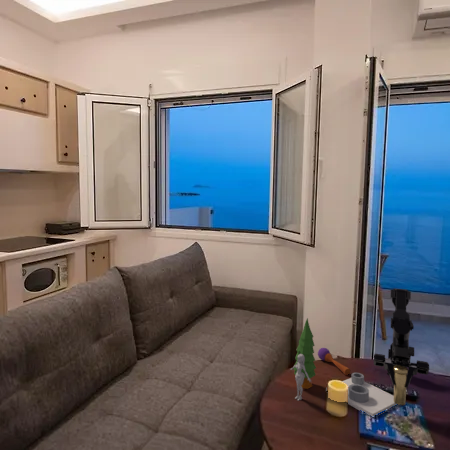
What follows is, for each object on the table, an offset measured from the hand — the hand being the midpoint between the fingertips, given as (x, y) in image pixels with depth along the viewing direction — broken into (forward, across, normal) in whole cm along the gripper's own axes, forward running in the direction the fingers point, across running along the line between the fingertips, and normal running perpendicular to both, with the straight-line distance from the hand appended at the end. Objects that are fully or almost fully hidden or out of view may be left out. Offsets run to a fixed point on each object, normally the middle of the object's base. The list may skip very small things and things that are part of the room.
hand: (400, 386), depth 134 cm
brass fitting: (+4, 0, +6) cm, 7 cm away
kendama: (-14, -28, +32) cm, 45 cm away
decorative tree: (+2, -37, +14) cm, 40 cm away
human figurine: (+10, -36, +6) cm, 38 cm away
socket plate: (+2, -13, +14) cm, 19 cm away
